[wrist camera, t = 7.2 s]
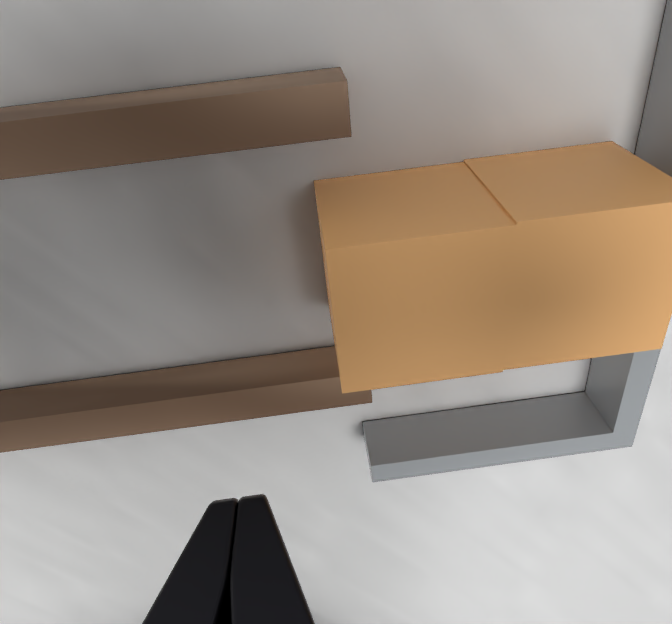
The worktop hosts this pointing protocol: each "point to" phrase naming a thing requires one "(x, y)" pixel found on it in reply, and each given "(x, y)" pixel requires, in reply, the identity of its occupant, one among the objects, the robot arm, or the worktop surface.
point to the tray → (548, 412)
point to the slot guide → (159, 144)
